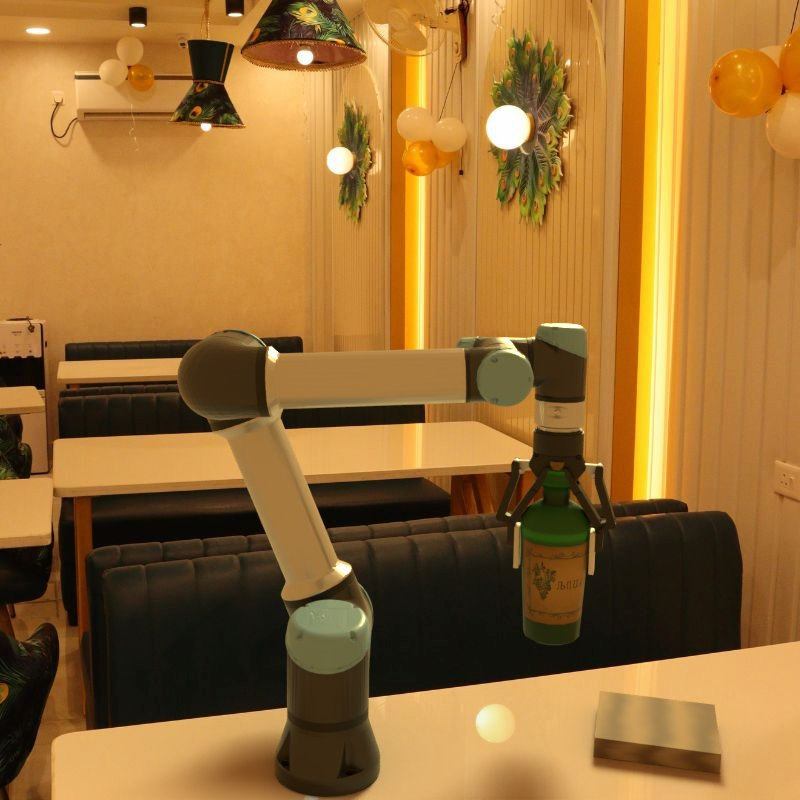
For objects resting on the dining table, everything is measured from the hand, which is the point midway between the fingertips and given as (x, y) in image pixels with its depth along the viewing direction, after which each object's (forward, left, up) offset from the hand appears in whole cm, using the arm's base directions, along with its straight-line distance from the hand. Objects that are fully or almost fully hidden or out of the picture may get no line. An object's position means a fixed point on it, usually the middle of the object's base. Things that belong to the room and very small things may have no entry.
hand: (553, 568), depth 153 cm
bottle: (0, 0, -11) cm, 11 cm away
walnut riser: (+17, +1, -26) cm, 31 cm away
